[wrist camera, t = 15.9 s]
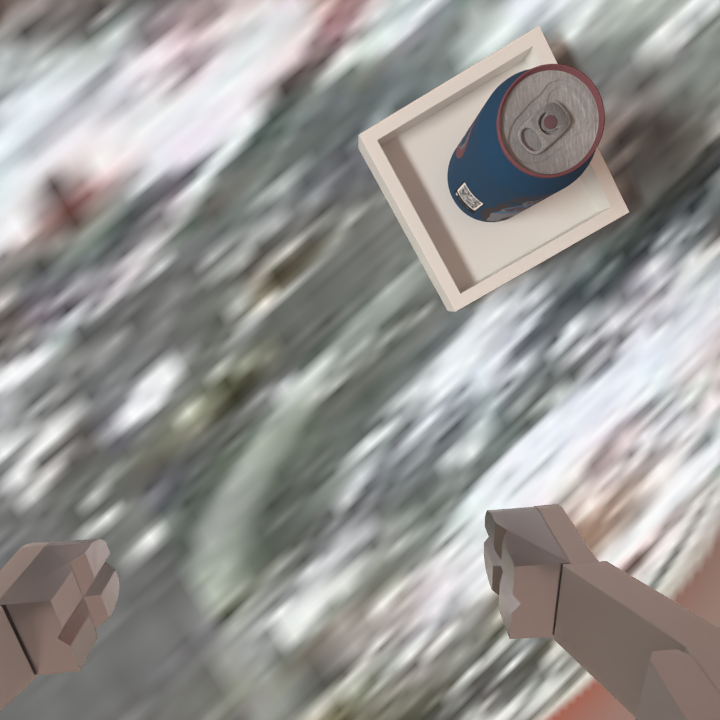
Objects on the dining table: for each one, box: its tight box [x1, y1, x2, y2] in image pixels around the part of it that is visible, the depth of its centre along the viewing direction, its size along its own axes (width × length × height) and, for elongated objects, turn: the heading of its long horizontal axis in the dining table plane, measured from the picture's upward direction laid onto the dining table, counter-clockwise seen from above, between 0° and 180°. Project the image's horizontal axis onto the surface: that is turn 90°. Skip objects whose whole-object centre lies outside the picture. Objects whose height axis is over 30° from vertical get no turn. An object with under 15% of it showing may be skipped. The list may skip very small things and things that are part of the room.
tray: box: [359, 26, 629, 312], centre depth 36 cm, size 15×15×3 cm
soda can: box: [447, 64, 605, 222], centre depth 30 cm, size 7×7×12 cm
